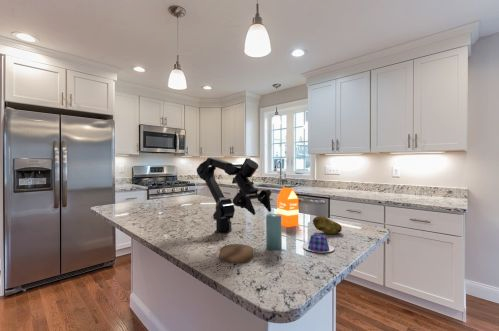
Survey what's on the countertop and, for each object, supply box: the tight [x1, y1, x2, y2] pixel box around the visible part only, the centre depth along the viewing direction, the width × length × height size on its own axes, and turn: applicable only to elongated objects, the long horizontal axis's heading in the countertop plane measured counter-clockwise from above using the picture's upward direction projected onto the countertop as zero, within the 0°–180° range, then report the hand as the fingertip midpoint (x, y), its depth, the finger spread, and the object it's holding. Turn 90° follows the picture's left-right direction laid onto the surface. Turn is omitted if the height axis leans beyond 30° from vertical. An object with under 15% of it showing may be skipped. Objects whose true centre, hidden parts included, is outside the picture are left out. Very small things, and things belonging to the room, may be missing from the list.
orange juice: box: [276, 186, 300, 228], centre depth 137 cm, size 8×9×20 cm
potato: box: [312, 215, 343, 235], centre depth 120 cm, size 8×13×8 cm, turn 63°
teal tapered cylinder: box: [265, 213, 283, 252], centre depth 99 cm, size 6×6×13 cm
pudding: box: [302, 233, 335, 254], centre depth 99 cm, size 12×12×5 cm
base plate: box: [219, 243, 254, 264], centre depth 91 cm, size 12×12×2 cm
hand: (262, 212), depth 104 cm, fingers open, 9 cm apart
